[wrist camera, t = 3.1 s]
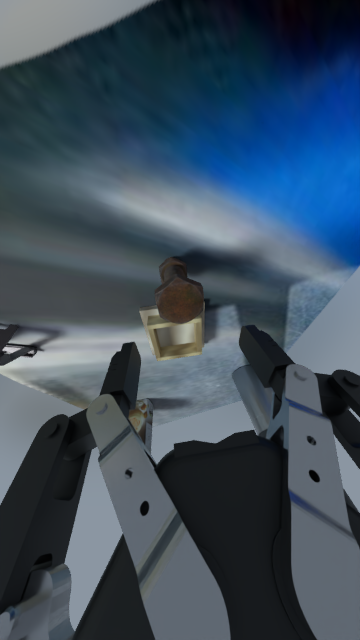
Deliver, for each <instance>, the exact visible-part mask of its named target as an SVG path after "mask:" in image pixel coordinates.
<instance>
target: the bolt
mask: <svg viewBox="0 0 360 640" xmlns="http://www.w3.org/2000/svg"><path fill="white" fill-rule="evenodd" d="M159 271H160V277H161V282H162V285H161V286H159V287H158V288H157V289H156V290H155V299H156V304H157V308H158V312H159V316H160V318H162V319H164V320H166V321H169V322H172V323H176V324H184V323H187V322H189V321H192V320H193V319H195V318H196V317H197V316H198V315H200V313H201V312H202V311H203V309H204V293H203V287H202V285H201V283H199V282H196V281H194V280H191V279H189V278H187V267H186V263H185V262H183V261H181V260H179V259H176V258H173V257H170V258H168V259H166V260H165V262H163V263H162V264H161V265H160V266H159Z"/></svg>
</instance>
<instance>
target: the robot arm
mask: <svg viewBox="0 0 360 640" xmlns="http://www.w3.org/2000/svg"><path fill="white" fill-rule="evenodd" d="M239 346H240V348H241V350H242V352H243V353H244V355H245V357H246V358H247V360H248V362H249V363H250V365H248V366H243V367H241V368H239V369H237V370H236V371H235V372H234V373H233V375H232V378H233V380H234V383H235V385H236V387H237V390H238V392H239V394H240V396H241V399H242V401H243V403H244V405H245V407H246V409H247V412H248V414H249V416H250V419H251V421H252V423H253V425H254V428H255V430H256V432H257V434H258V435H256V433H255V431H254V430H250V431H244V432H238V433H234V434H232V435H231V436H229V437H227V438H225V439H224V440H222V441H220V442H218V443H208V442H201V441H195V440H193V441H188V442H182V443H176V444H174V450H172V451H170V452H169V453H167V454H166V455H165V456H164V457H163V458H162V459H161V460H160V462H159V463H158V464H156V462H155V460H154V459H153V457H152V455H151V454H150V452H149V451H148V449H147V448H146V446H145V444H144V443H143V441H142V440H141V438H140V436H139V435H138V433H137V431H136V429H135V428H134V426H133V424H132V423H131V421H130V419H129V411H130V410H134V409H135V407H136V399H137V391H138V383H139V375H140V367H141V357H140V354H139V352H138V349H137V346H136V344H135V342H130V343H124V344H123V346H122V349H121V351H119V352H116V353H115V355H114V356H113V357H112V359H111V362H110V366H109V368H108V372H107V374H106V377H105V380H104V383H103V386H102V389H101V392H100V395H99V397H97V398H96V399H95V400H93V401H92V403H91V404H90V405H89V407H88V408H87V409H85V410H83V411H81V412H79V413H77V414H75V415H73V416H71V417H68V416H66V415H64V414H60V415H57V416H54V417H53V418H51V419H50V420H48V421H47V422H46V423H45V424H44V425H43V426H42V427H41V428H40V430H39V431H38V433H37V435H36V437H35V439H34V440H33V442H32V444H31V446H30V448H29V450H28V452H27V454H26V456H25V458H24V460H23V462H22V464H21V466H20V468H19V470H18V472H17V474H16V476H15V478H14V480H13V482H12V484H11V486H10V487H9V489H8V491H7V493H6V495H5V497H4V499H3V501H2V503H1V505H0V640H360V513H359V512H358V510H357V508H356V507H355V505H354V504H353V502H352V501H351V499H350V498H349V496H348V495H347V493H346V492H345V490H344V489H343V486H342V480H341V474H340V469H339V463H338V457H337V452H336V446H335V440H334V435H335V437H336V438H337V439H338V441H339V442H340V443H341V444H342V446H343V447H344V449H345V450H346V451H347V453H348V454H349V455H350V457H351V458H352V460H353V461H354V462H355V463H356V465H357V466H358V468H359V469H360V422H359V421H358V420H357V418H356V417H355V416H354V415H353V414H352V413H351V412H350V411H349V410H348V409H350V408H351V409H352V410H353V411H354V412H355V413H356V414H357V415H358V416H359V417H360V376H359V375H357V374H355V373H353V372H350V371H347V370H336V371H334V372H333V373H332V375H327V374H319V373H313V372H312V371H311V370H309V369H308V368H306V367H304V366H302V365H298V364H295V363H294V362H293V361H292V360H291V359H290V357H289V356H287V354H286V353H285V352H284V351H283V350H282V349H281V348H280V346H278V344H277V343H276V342H275V341H274V340H273V339H272V338H271V337H270V335H268V334H267V333H265V332H264V331H262V330H261V331H259V330H258V329H257V328H256V326H255V325H247V326H242V328H241V333H240V338H239ZM333 434H334V435H333ZM95 447H98V449H99V452H100V456H99V458H98V461H99V465H100V469H101V471H102V474H103V477H104V480H105V483H106V486H107V488H108V491H109V494H110V497H111V500H112V503H113V505H114V508H115V511H116V514H117V517H118V520H119V523H120V526H121V528H122V531H123V534H122V536H121V538H120V540H119V542H118V544H117V546H116V548H115V550H114V553H113V555H112V557H111V559H110V561H109V563H108V565H107V567H106V569H105V571H104V573H103V575H102V577H101V579H100V581H99V583H98V585H97V587H96V589H95V592H94V594H93V596H92V598H91V600H90V602H89V604H88V606H87V608H86V610H85V612H84V614H83V616H82V618H81V620H80V622H79V624H78V626H77V628H76V631H74V630H73V628H72V626H71V623H70V618H69V600H70V593H71V574H70V571H69V568H68V567H67V566H66V565H65V564H64V562H65V558H66V554H67V550H68V545H69V541H70V537H71V533H72V529H73V525H74V521H75V516H76V512H77V508H78V504H79V500H80V496H81V492H82V487H83V484H84V479H85V475H86V471H87V467H88V463H89V459H90V455H91V450H92V449H94V448H95Z"/></svg>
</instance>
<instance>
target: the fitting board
mask: <svg viewBox="0 0 360 640" xmlns="http://www.w3.org/2000/svg"><path fill="white" fill-rule="evenodd" d="M204 312H205V302H204V309H203V311H202V312H201V313H200V315H198V316H197V317H196V318H195V319H193V320H192V321H189V322H187V323H184V324H176V323H172V322H169V321H166V320H164V319H162V318H160V316H159V312H158V308H157V305H155V306H148V307H141V308H140V314H141V318H142V321H143V324H144V328H145V331H146V334H147V337H148V341H149V344H150V347H151V350H152V354H153V355H156V359H157V361H161V360H168V359H175V358H181V357H188V356H194V355H201V354H202V348H203V347H204Z"/></svg>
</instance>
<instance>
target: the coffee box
mask: <svg viewBox="0 0 360 640" xmlns="http://www.w3.org/2000/svg"><path fill="white" fill-rule="evenodd" d="M129 419H130V421H131V423H132V424H133V426H134V428H135V429H136V431H137V433H138V435H139V436H140V438H141V440H142V441H143V443H144V444H145V446H146V448H147V449H148V451H149V452H150V454H151V439H152V419H153V404H152V403H151V402H150V400H149V399H143V400H138V401H136V407H135V409H134V410H130V411H129Z"/></svg>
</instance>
